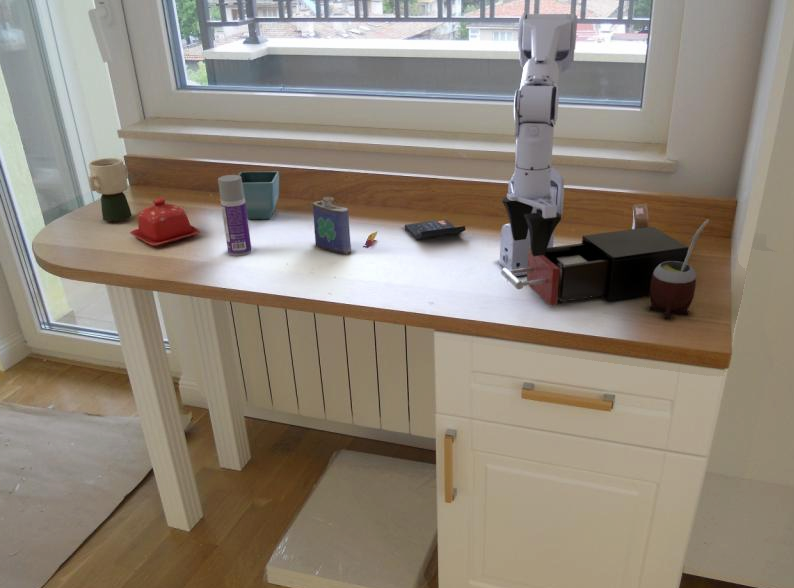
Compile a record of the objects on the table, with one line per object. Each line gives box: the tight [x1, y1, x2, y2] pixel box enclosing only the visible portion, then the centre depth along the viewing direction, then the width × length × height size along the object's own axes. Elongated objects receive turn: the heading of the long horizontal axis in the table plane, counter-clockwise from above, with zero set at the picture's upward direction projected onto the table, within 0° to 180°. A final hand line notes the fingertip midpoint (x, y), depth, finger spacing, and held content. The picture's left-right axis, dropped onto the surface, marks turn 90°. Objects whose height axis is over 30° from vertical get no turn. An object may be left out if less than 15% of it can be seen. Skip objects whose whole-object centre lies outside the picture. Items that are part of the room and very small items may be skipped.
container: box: [217, 174, 253, 257], centre depth 158 cm, size 5×5×15 cm
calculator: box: [404, 219, 466, 241], centre depth 168 cm, size 9×12×3 cm
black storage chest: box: [581, 226, 689, 303], centre depth 141 cm, size 14×11×8 cm
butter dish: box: [129, 197, 201, 246], centre depth 168 cm, size 12×12×8 cm
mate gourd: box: [649, 218, 711, 320], centre depth 130 cm, size 8×8×15 cm
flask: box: [312, 196, 352, 255], centre depth 159 cm, size 9×3×11 cm, turn 50°
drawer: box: [500, 242, 612, 307], centre depth 138 cm, size 19×10×7 cm, turn 107°
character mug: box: [88, 157, 133, 223], centre depth 178 cm, size 11×7×13 cm, turn 154°
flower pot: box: [238, 170, 280, 220], centre depth 179 cm, size 9×9×9 cm
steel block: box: [556, 255, 588, 286], centre depth 139 cm, size 4×4×4 cm
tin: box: [631, 203, 650, 229], centre depth 155 cm, size 15×3×8 cm, turn 168°
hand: (528, 247), depth 134 cm, fingers open, 7 cm apart
